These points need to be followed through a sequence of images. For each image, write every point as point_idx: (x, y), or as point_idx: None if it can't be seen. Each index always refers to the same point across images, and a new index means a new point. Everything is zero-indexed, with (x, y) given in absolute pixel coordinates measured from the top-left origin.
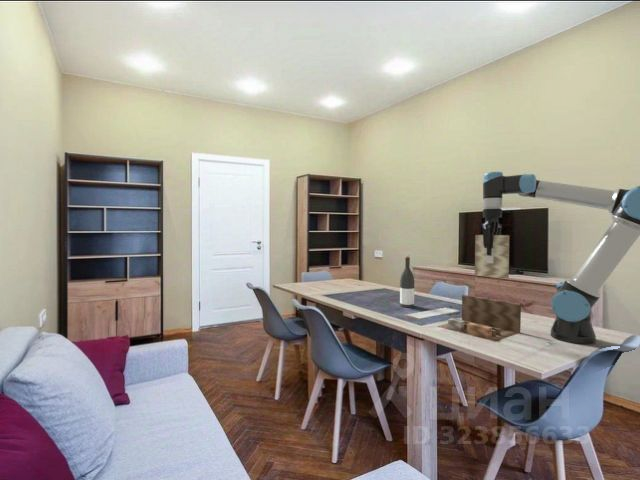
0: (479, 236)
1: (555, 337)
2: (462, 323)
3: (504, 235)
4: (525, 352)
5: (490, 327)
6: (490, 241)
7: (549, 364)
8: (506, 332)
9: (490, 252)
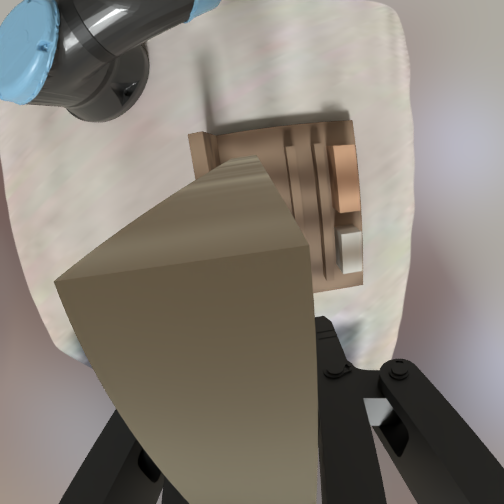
0: None
1: (144, 86)
2: (349, 231)
3: (315, 399)
4: (326, 57)
5: (337, 148)
6: (368, 435)
7: (347, 5)
8: (243, 155)
9: (325, 335)
